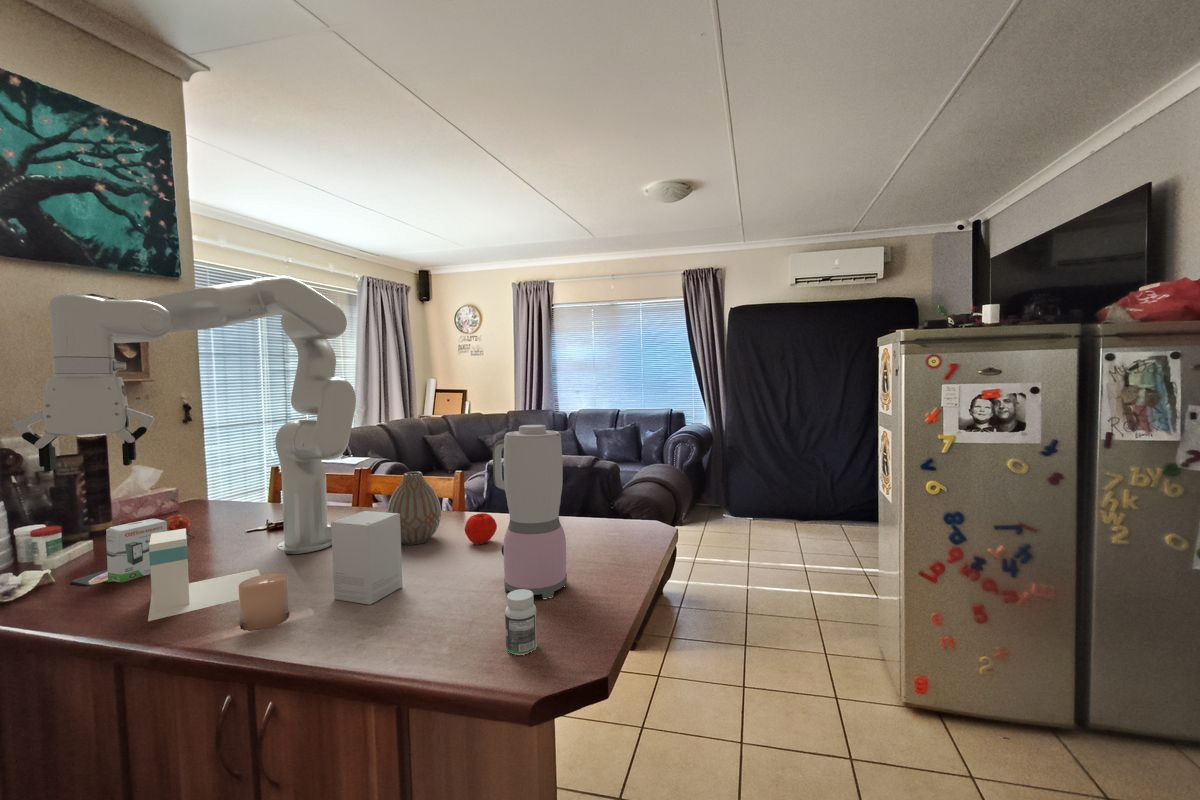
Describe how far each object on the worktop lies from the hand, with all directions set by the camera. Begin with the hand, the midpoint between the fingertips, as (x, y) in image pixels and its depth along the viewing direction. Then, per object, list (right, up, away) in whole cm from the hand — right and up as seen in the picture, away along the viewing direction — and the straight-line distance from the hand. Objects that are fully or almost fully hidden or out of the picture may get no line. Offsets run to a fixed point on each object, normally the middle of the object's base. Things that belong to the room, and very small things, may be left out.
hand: (90, 467), depth 88 cm
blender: (+74, -26, +13) cm, 80 cm away
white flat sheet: (+14, -26, +9) cm, 31 cm away
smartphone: (-16, -27, +23) cm, 39 cm away
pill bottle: (+76, -27, -10) cm, 82 cm away
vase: (+41, -25, +42) cm, 64 cm away
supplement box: (+44, -26, +11) cm, 52 cm away
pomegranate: (-22, -25, +44) cm, 55 cm away
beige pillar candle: (+30, -27, 0) cm, 40 cm away
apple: (+58, -25, +40) cm, 75 cm away
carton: (+9, -25, +6) cm, 28 cm away
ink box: (-9, -26, +19) cm, 34 cm away
